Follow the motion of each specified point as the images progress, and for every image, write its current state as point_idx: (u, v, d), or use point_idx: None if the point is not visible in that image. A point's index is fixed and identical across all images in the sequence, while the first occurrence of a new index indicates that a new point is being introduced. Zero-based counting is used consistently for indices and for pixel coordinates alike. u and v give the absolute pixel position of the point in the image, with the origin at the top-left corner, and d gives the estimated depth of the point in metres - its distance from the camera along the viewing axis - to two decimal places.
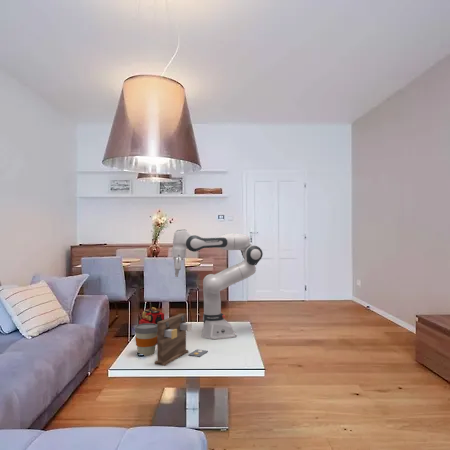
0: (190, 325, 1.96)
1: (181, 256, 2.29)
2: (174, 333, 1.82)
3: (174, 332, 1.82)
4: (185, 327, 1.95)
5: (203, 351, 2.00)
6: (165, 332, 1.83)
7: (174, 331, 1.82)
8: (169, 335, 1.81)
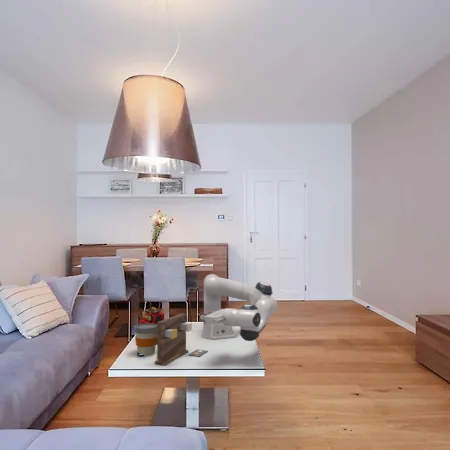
0: (190, 325, 1.96)
1: (224, 322, 1.83)
2: (174, 333, 1.82)
3: (174, 332, 1.82)
4: (185, 327, 1.95)
5: (203, 351, 2.00)
6: (165, 332, 1.83)
7: (174, 331, 1.82)
8: (169, 335, 1.81)
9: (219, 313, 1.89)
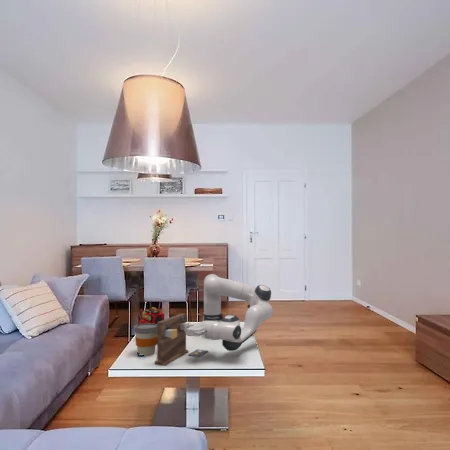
0: None
1: (205, 334, 1.87)
2: (174, 333, 1.82)
3: (174, 332, 1.82)
4: (183, 327, 1.96)
5: (203, 351, 2.00)
6: (165, 332, 1.83)
7: (174, 331, 1.82)
8: (169, 335, 1.81)
9: (201, 325, 1.93)
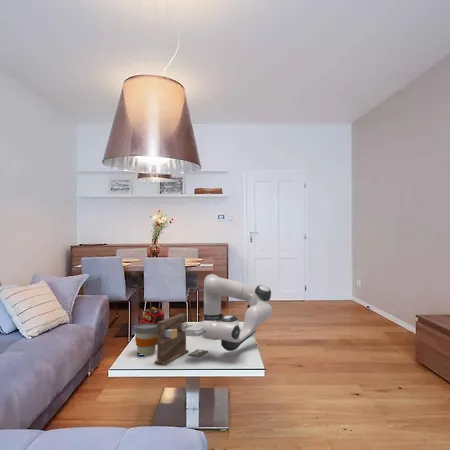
0: (186, 325, 1.97)
1: (204, 334, 1.88)
2: (174, 333, 1.82)
3: (174, 332, 1.82)
4: (181, 327, 1.96)
5: (203, 351, 2.00)
6: (165, 332, 1.83)
7: (174, 331, 1.82)
8: (169, 335, 1.81)
9: (200, 325, 1.93)
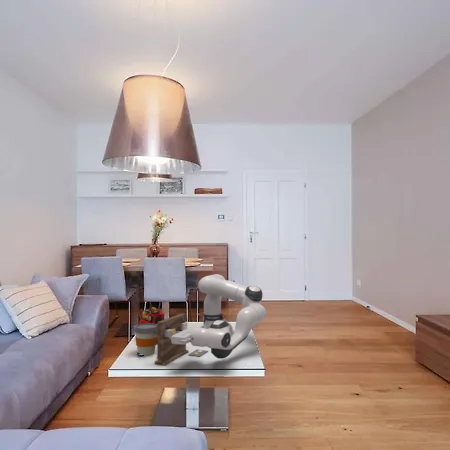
0: (186, 325, 1.97)
1: (191, 342, 1.73)
2: None
3: (172, 332, 1.82)
4: (181, 327, 1.96)
5: (203, 351, 2.00)
6: None
7: (172, 331, 1.82)
8: (167, 335, 1.82)
9: (188, 332, 1.79)
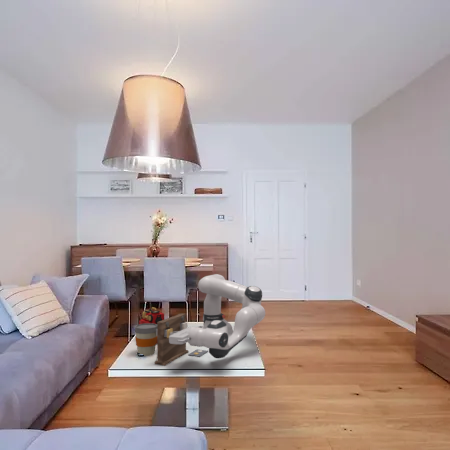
0: (186, 325, 1.97)
1: (189, 342, 1.74)
2: (169, 332, 1.83)
3: (169, 331, 1.83)
4: (181, 327, 1.96)
5: (203, 351, 2.00)
6: None
7: (169, 330, 1.83)
8: (165, 334, 1.83)
9: (185, 332, 1.79)
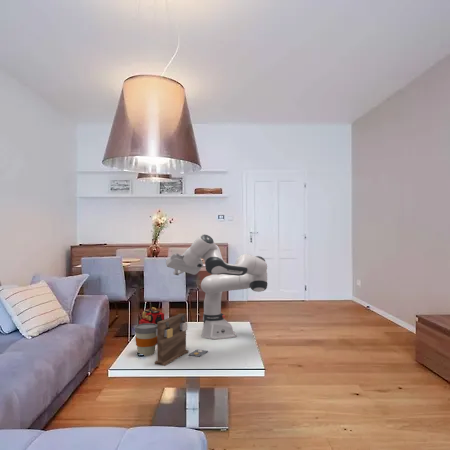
0: (186, 325, 1.97)
1: (184, 259, 1.92)
2: (169, 332, 1.83)
3: (169, 331, 1.83)
4: (181, 327, 1.96)
5: (203, 351, 2.00)
6: None
7: (169, 330, 1.83)
8: (165, 334, 1.83)
9: None
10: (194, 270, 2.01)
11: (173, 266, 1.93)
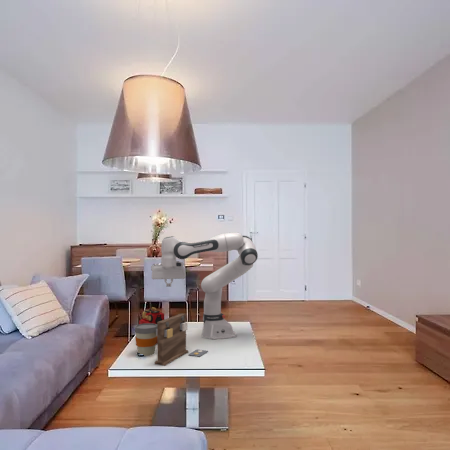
0: (186, 325, 1.97)
1: (162, 265, 2.16)
2: (169, 332, 1.83)
3: (169, 331, 1.83)
4: (181, 327, 1.96)
5: (203, 351, 2.00)
6: None
7: (169, 330, 1.83)
8: (165, 334, 1.83)
9: None
10: (180, 273, 2.17)
11: (157, 276, 2.15)
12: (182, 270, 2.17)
